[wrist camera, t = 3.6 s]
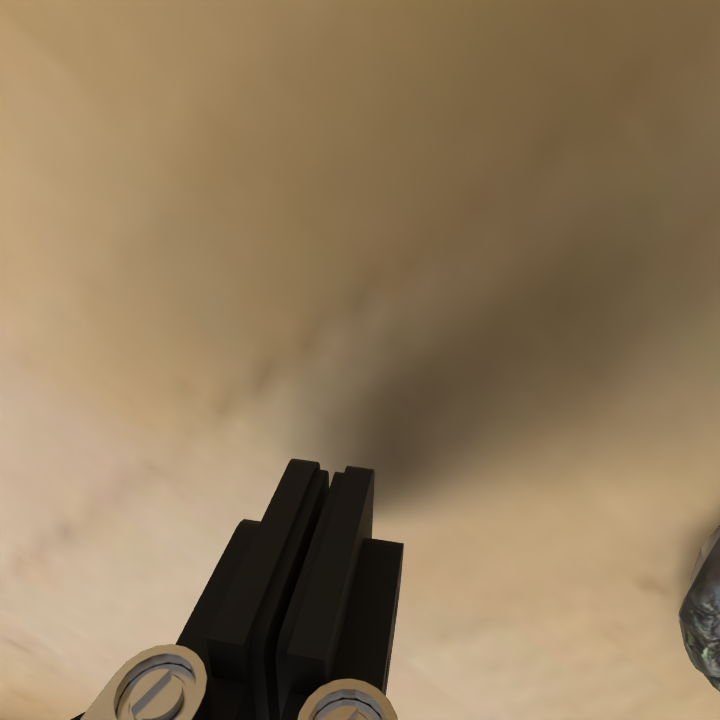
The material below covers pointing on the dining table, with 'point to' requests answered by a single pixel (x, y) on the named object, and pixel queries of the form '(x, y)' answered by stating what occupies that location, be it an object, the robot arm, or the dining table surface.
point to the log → (704, 612)
